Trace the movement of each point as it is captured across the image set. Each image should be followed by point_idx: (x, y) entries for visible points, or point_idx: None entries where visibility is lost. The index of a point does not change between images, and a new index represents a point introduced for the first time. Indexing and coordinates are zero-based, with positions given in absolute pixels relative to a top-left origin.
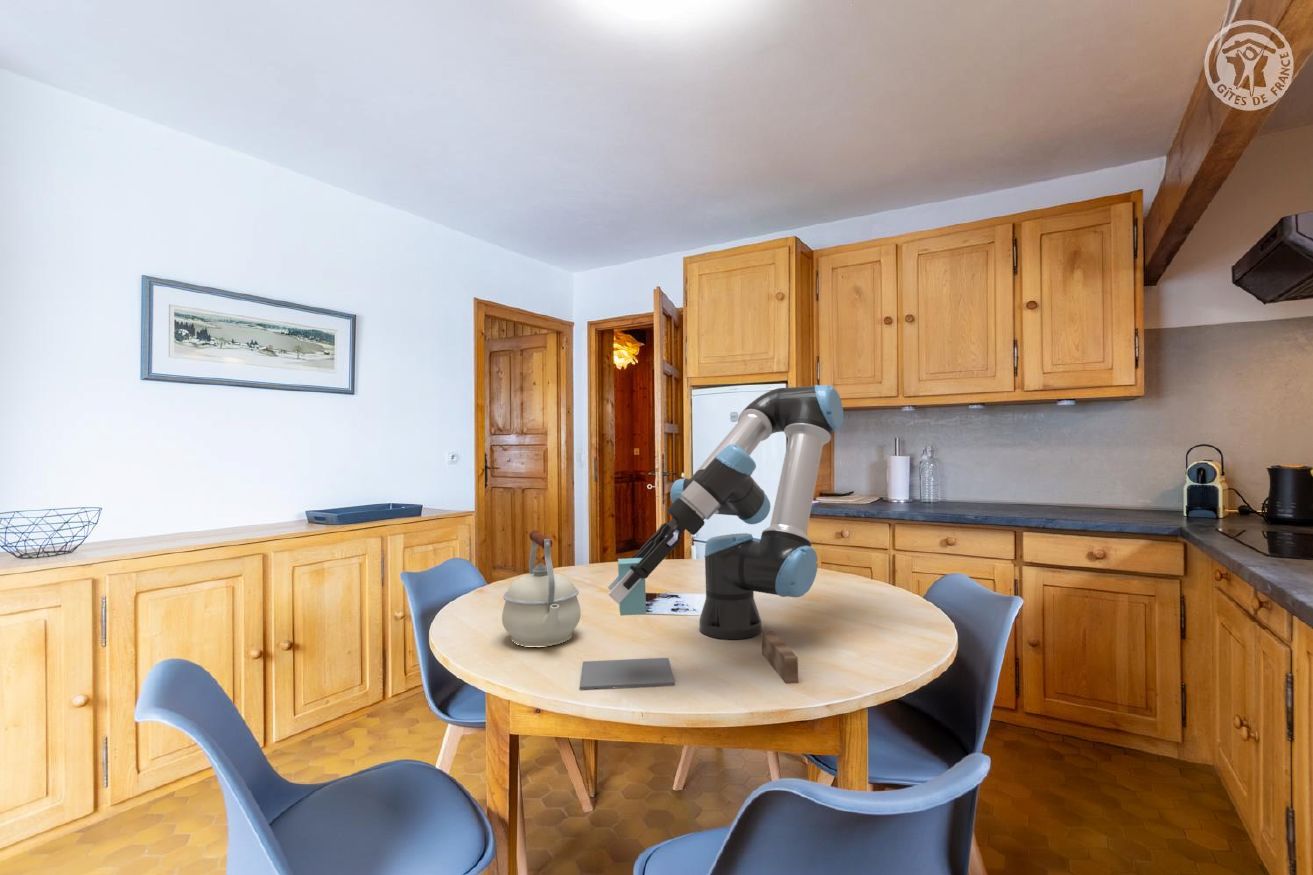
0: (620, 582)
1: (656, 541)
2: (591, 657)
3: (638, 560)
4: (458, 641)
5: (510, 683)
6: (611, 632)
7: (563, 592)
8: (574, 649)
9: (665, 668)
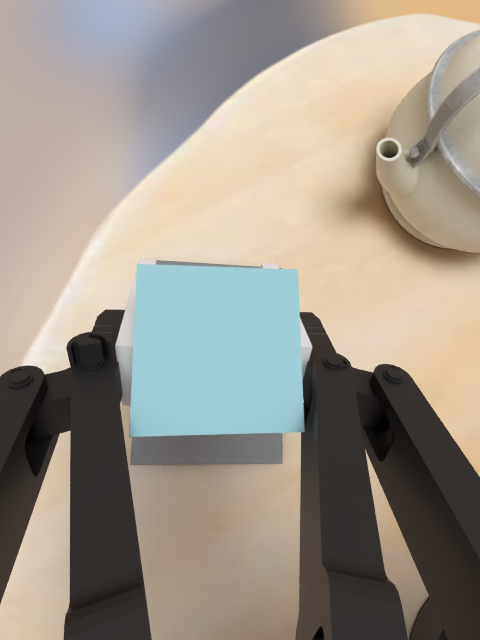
0: (129, 296)
1: (64, 633)
2: (318, 288)
3: (218, 397)
4: (429, 39)
5: (202, 138)
6: (472, 337)
7: None
8: (369, 254)
9: (214, 450)
